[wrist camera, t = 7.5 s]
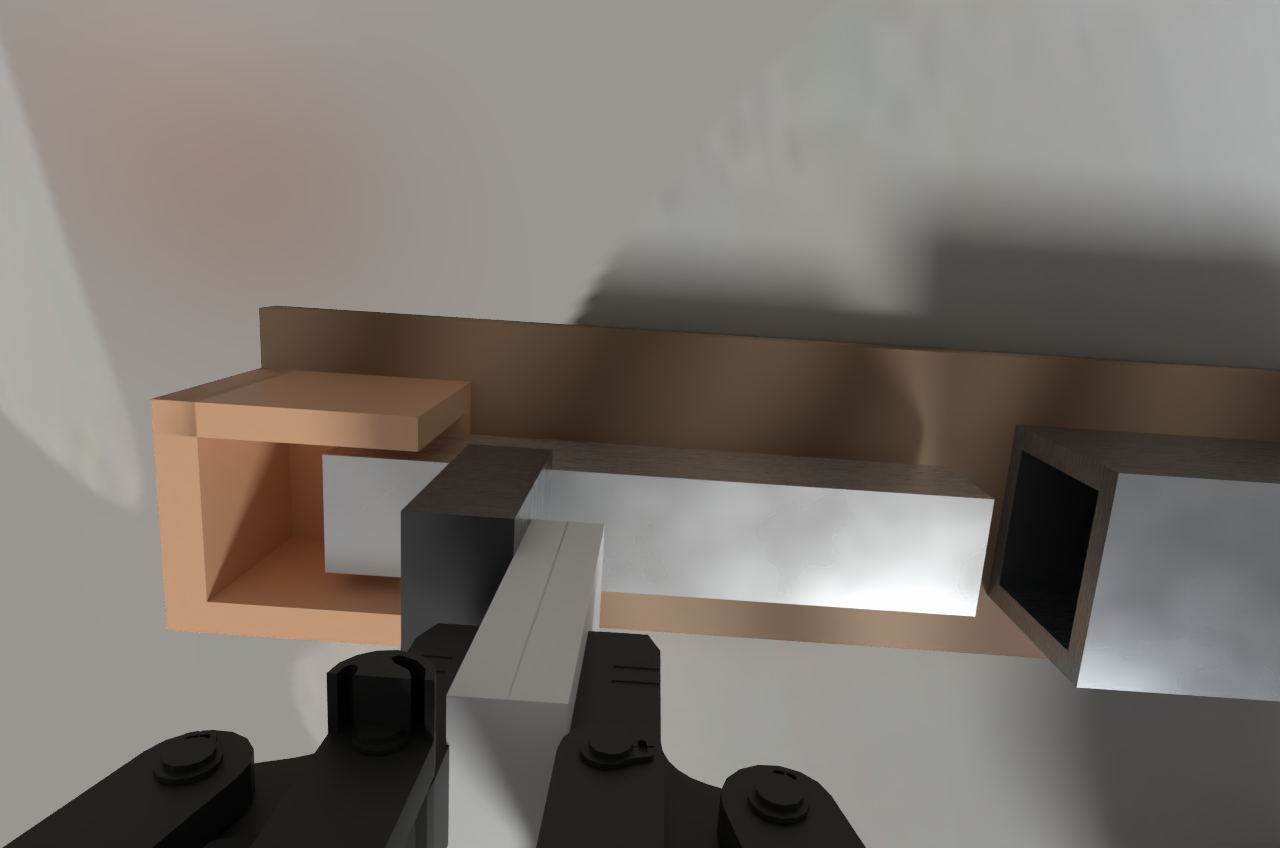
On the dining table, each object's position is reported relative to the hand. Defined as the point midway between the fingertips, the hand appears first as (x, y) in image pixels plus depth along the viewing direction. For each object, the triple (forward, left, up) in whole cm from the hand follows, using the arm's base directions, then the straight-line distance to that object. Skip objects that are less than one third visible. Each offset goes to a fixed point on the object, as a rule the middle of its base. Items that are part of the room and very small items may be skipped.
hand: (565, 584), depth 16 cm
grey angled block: (0, +2, -6) cm, 6 cm away
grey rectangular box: (0, +17, -7) cm, 19 cm away
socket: (0, -7, -7) cm, 10 cm away
